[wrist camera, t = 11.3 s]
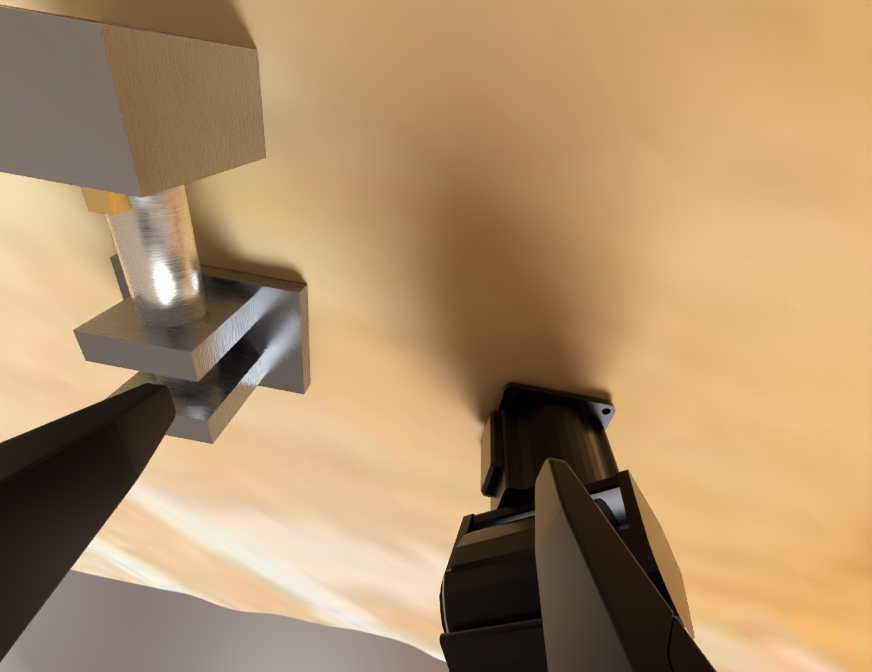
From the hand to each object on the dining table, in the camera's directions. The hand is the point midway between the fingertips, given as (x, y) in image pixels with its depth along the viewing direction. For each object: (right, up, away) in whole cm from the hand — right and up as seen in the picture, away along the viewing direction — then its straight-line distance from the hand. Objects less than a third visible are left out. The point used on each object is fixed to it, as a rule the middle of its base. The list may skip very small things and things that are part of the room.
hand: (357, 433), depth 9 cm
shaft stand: (-10, +8, +11) cm, 16 cm away
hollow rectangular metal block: (-9, +13, +7) cm, 17 cm away
